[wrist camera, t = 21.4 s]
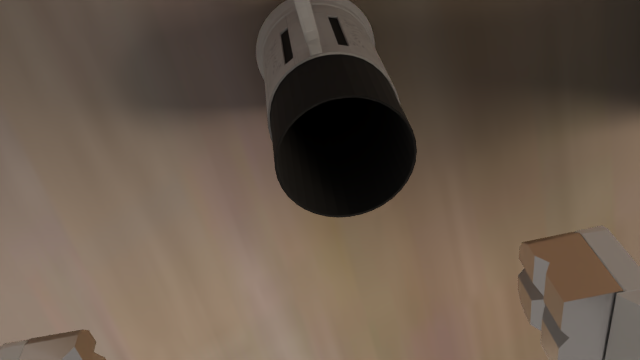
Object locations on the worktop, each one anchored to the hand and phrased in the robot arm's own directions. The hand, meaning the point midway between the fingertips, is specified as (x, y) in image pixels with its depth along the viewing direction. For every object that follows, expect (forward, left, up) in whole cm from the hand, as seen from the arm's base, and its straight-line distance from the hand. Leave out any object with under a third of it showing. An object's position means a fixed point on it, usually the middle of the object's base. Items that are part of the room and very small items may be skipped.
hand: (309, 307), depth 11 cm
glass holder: (-2, +6, -33) cm, 34 cm away
